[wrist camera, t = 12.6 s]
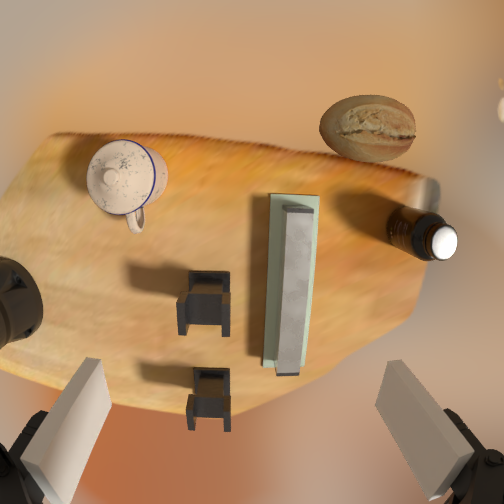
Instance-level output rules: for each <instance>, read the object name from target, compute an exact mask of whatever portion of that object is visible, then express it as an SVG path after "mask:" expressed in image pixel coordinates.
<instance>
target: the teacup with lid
mask: <svg viewBox="0 0 504 504" xmlns="http://www.w3.org/2000/svg"><path fill="white" fill-rule="evenodd" d="M86 180H87V188H88V191H89V194H90V196H91V198H92V200H93V201H94V202H95V204H96V205H97V206H98V207H100V208H101V209H102V210H104V211H106V212H108V213H110V214H115V215H125V214H126V220H127V224H128V227H129V229H130V231H131V232H132V233H134V234H137V233H141V232H142V231H143V229H144V225H145V212H144V206H146V205H148V204H151V203H152V202H154V201H155V200H157V199H158V198H159V197H160V196H161V194H162V193H163V191H164V190H165V187H166V185H167V181H168V170H167V166H166V163H165V161H164V159H163V158H162V156H161V155H160V154H159V153H158V152H156V151H155V150H153V149H151V148H148V147H145V146H141V145H140V144H138V143H136V142H134V141H131V140H115V141H112V142H109V143H107V144H106V145H104V146H103V147H101V148H100V149H99V150H98V151H97V152H96V153H95V155H94V156H93V158H92V159H91V161H90V164H89V166H88V170H87V177H86ZM135 211H136V216H135Z"/></svg>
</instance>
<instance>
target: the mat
mask: <svg viewBox="0 0 504 504" xmlns="http://www.w3.org/2000/svg"><path fill="white" fill-rule="evenodd" d="M319 197H320V196H310V195H288V194H271V195H270V222H269V247H268V271H267V293H266V314H265V334H264V353H263V368H269V367H275V366H274V361H273V360H274V346H275V332H276V316H277V300H278V283H279V265H280V246H281V224H282V205H305V206H309V207H311V208H313V209H314V219H313V235H312V250H311V263H310V276H309V287H308V298H307V309H306V319H305V329H304V338H303V347H302V356H301V364H300V367H302V366H304V365H305V357H306V349H307V340H308V332H309V323H310V313H311V303H312V293H313V282H314V271H315V259H316V245H317V231H318V215H319Z"/></svg>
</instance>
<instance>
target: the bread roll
mask: <svg viewBox="0 0 504 504" xmlns="http://www.w3.org/2000/svg"><path fill="white" fill-rule="evenodd" d="M319 132H320V134H321V136H322V138H323V140H324V141H325V143H326V144H327V145H328V146H329V147H330V148H331V149H332V150H334V151H335V152H336V153H338V154H339V155H341V156H344V157H346V158H349V159H352V160H357V161H363V162H383V161H389V160H393V159H395V158H397V157H399V156H400V155H402V154H404V153H405V152H406V151H407V150H408V149H409V148H410V146H411V144H412V142H413V140H414V139H415V137H416V136H415V135H414V134H415V132H416V129H415V120H414V117H413V114H412V112H411V111H410V109H408V108H407V107H406V106H405V105H404V104H402V103H400V102H398V101H397V100H395V99H392V98H389V97H385V96H380V95H359V96H353V97H349V98H346V99H343V100H341V101H339V102H337V103H335V104H334V105H332V106H331V107H330V108H329V109H328V110H327V111H326V112H325V113H324V115H323V116H322V118H321V121H320V126H319Z"/></svg>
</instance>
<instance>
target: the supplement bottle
mask: <svg viewBox="0 0 504 504" xmlns="http://www.w3.org/2000/svg"><path fill="white" fill-rule="evenodd" d="M387 236H388V239H389V240H390V242H391V243H392V244H393V245H394V246H395V247H397V248H398V249H400V250H402V251H404V252H406V253H408V254H410V255H412V256H414V257H416V258H418V259H420V260H423V261H433V260H435V259H437V260H439V261H443V260H446V259H449V258H450V257H451V256H452V255H453V254H454V253H455V250H456V247H457V243H458V238H457V233H456V231H455V229H454V228H453V227H452V226H451V225H448V224H447V223H446V221H445V220H444V219H443V218H442V217H441V216H440V215H438V214H436V213H432V212H428V211H424V210H420V209H415V208H411V207H401V208H399V209H397V210H395V211H394V212H393V213H392V214H391V216H390V217H389V220H388V222H387Z"/></svg>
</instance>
